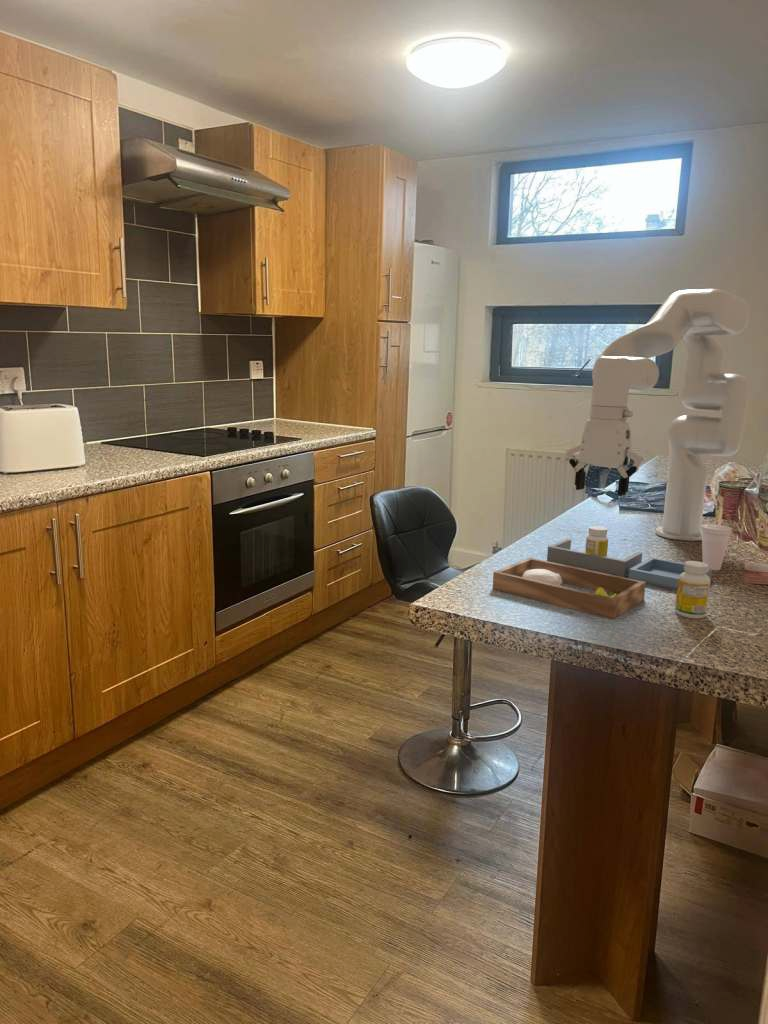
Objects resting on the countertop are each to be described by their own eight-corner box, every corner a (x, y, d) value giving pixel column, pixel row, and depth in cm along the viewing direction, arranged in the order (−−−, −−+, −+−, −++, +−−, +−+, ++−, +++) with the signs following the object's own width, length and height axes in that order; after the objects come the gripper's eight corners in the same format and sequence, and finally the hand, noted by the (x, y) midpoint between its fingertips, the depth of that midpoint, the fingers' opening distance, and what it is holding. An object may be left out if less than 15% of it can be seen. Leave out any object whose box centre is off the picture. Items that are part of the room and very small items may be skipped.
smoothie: (730, 573, 161) (738, 511, 158) (699, 571, 163) (706, 509, 160) (723, 565, 167) (730, 505, 165) (693, 563, 169) (700, 504, 166)
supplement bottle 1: (606, 562, 168) (609, 526, 166) (605, 567, 164) (609, 531, 162) (585, 560, 169) (588, 524, 168) (583, 565, 165) (586, 529, 163)
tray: (649, 567, 164) (651, 557, 164) (710, 579, 156) (712, 568, 156) (628, 580, 154) (629, 569, 154) (691, 594, 146) (693, 582, 146)
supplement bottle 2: (700, 621, 131) (707, 569, 129) (670, 614, 134) (676, 563, 132) (710, 614, 135) (716, 563, 133) (680, 607, 138) (686, 558, 136)
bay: (566, 553, 175) (567, 538, 174) (640, 568, 164) (642, 552, 163) (546, 561, 167) (547, 546, 167) (623, 577, 156) (625, 561, 156)
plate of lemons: (582, 605, 139) (583, 591, 139) (593, 594, 146) (594, 580, 145) (625, 613, 135) (626, 598, 135) (634, 601, 142) (636, 587, 141)
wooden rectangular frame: (528, 573, 158) (529, 557, 157) (644, 599, 142) (645, 581, 142) (492, 589, 146) (493, 572, 146) (613, 619, 131) (615, 600, 130)
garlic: (561, 585, 151) (562, 567, 150) (561, 595, 144) (563, 576, 143) (521, 582, 152) (522, 564, 152) (520, 591, 146) (521, 573, 145)
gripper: (653, 417, 157) (645, 495, 160) (578, 411, 168) (571, 485, 171) (641, 418, 151) (632, 499, 155) (563, 412, 162) (556, 488, 165)
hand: (600, 492), depth 163 cm, fingers open, 9 cm apart
